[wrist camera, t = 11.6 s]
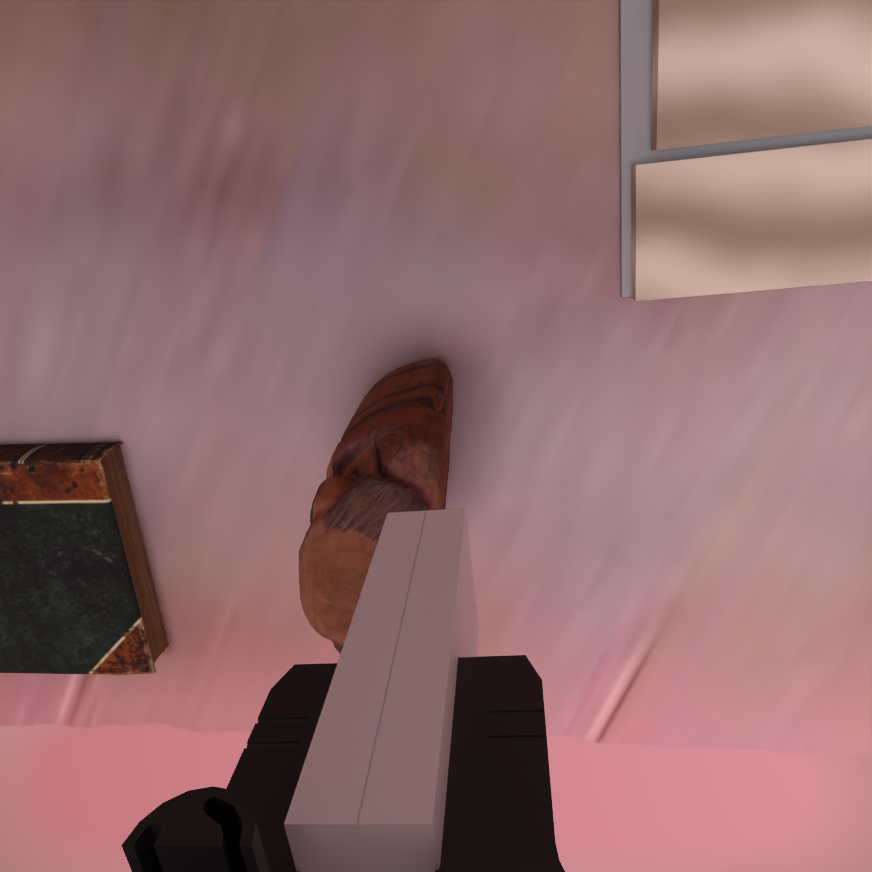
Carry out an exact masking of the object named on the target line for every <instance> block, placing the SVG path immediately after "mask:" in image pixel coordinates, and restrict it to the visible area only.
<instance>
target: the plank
mask: <svg viewBox="0 0 872 872" xmlns="http://www.w3.org/2000/svg"><path fill="white" fill-rule="evenodd" d="M865 126H872V0H653V38H652V102H651V150H662V149H671V148H680V147H688V146H697V145H706V144H715V143H724V142H733V141H741V140H750V139H759V138H768V137H777V136H785V135H794V134H803V133H812V132H821V131H829V130H838V129H847V128H856V127H865Z"/></svg>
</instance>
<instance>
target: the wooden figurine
mask: <svg viewBox="0 0 872 872" xmlns="http://www.w3.org/2000/svg"><path fill="white" fill-rule="evenodd" d="M452 390H453V380H452V377H451V375H450V372H449V371H448V368H447V366H446V365H445V364H444V363H442V362H439V361H436V360H427V361H421V362H417V363H414V364H411V365H407V366H404V367H401V368H399V369H397V370H395V371H393V372H391V373H390V374H388V375H387V376H385V377H384V378H382V379H381V380H380V381H379V382H377V383H376V384H375V385H374V386H373V387H372V389H371V390H370V391H369V392H368V394H367V395H366V396H365V397H364V399H363V401H362V402H361V404H360V406H359V408H358V409H357V411H356V413H355V414H354V416H353V418H352V420H351V421H350V423H349V425H348V427H347V429H346V430H345V432H344V434H343V436H342V439H341V442H340V443H338V445H337V448H336V450H335V451H334V453H333V455H332V458H331V460H330V463H329V466H328V469H327V477H326V480H325V481H323V483H322V484H321V485H320V486H319V488H318V490H317V493H316V496H315V498H314V500H313V504H312V509H311V514H310V522H311V525H310V527H309V529H308V531H307V532H306V535H305V538H304V540H303V543H302V545H301V548H300V550H299V585H300V598H301V604H302V607H303V610H304V613H305V615H306V617H307V619H308V621H309V623H310V624H311V626H312V627H313V628H314V629H315V630H316V631H317V632H318V633H319V634H320V635H321V636H323V637H325V638H327V639H330V640H331V641H332V642H333V643H334V646H335V648H336V649H337V651H338V652H339V653H340V654H341V651H342V648H343V645H344V642H345V639H346V636H347V633H348V630H349V627H350V624H351V621H352V618H353V615H354V612H355V609H356V606H357V603H358V600H359V597H360V594H361V591H362V588H363V585H364V582H365V579H366V576H367V573H368V570H369V567H370V564H371V561H372V558H373V555H374V552H375V549H376V546H377V543H378V540H379V537H380V534H381V531H382V528H383V525H384V522H385V519H386V516H387V513H393V512H410V511H427V510H444V509H445V506H446V492H447V480H448V470H449V449H450V434H451V427H452V410H453V393H452Z"/></svg>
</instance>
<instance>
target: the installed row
mask: <svg viewBox="0 0 872 872" xmlns="http://www.w3.org/2000/svg"><path fill="white" fill-rule="evenodd" d="M863 281H872V139H864V140H855V141H846V142H837V143H828V144H819V145H810V146H801V147H792V148H783V149H774V150H765V151H756V152H747V153H738V154H729V155H721V156H712V157H703V158H694V159H685V160H676V161H667V162H658V163H649V164H640V165H631V297H632V298H633V299H634V300H635V301H645V300H656V299H668V298H679V297H691V296H702V295H714V294H725V293H737V292H748V291H760V290H771V289H783V288H794V287H806V286H817V285H829V284H840V283H852V282H863Z"/></svg>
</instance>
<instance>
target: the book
mask: <svg viewBox="0 0 872 872" xmlns="http://www.w3.org/2000/svg"><path fill="white" fill-rule="evenodd" d="M122 444H123V443H91V444H45V445H0V673H51V674H109V675H129V674H152V673H155V672H156V669H155V665H154V663H155V661H156V660H157V658H158V657H159V656H160V655H161V654H162V652H163V651H164V649H165V648H166V647H167V646H168V645H169V644H168V640H167V636H166V632H165V627H164V623H163V619H162V615H161V611H160V607H159V603H158V599H157V595H156V591H155V587H154V583H153V579H152V574H151V570H150V566H149V562H148V558H147V554H146V550H145V546H144V542H143V538H142V534H141V530H140V526H139V521H138V517H137V513H136V509H135V505H134V501H133V497H132V493H131V489H130V485H129V481H128V477H127V473H126V469H125V465H124V461H123V457H122V453H121V449H120V447H117V446H118V445H122Z"/></svg>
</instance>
